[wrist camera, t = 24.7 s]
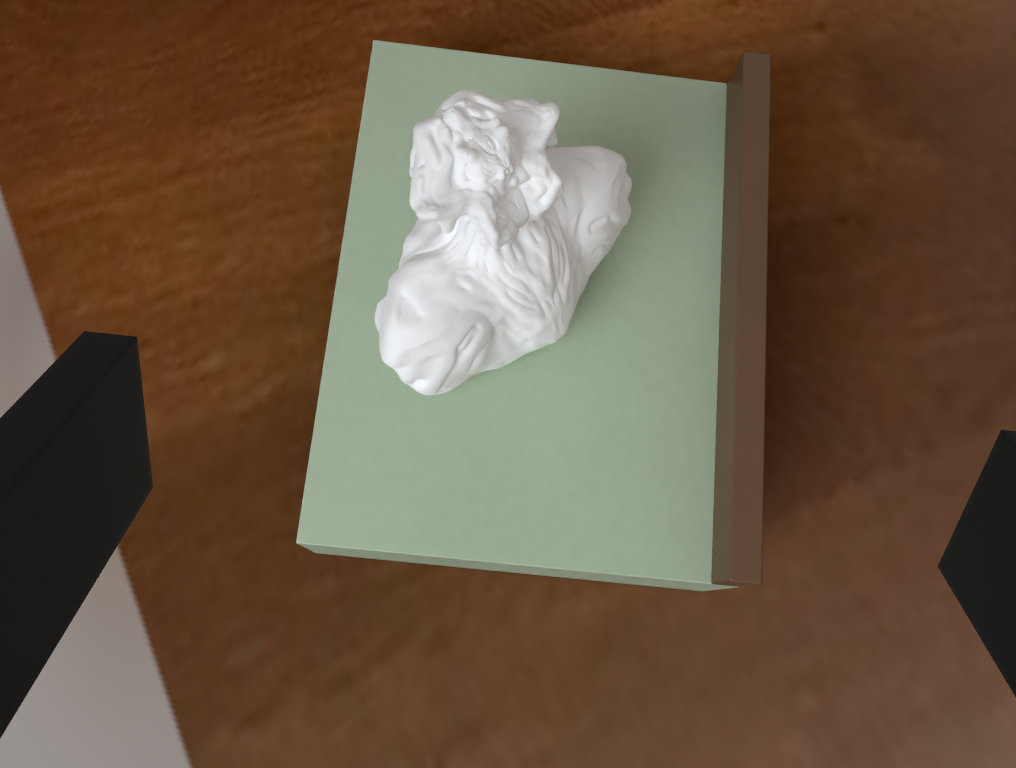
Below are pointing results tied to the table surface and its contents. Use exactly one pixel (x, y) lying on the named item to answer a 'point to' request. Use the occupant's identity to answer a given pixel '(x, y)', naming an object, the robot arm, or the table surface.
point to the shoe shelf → (566, 349)
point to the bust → (495, 239)
